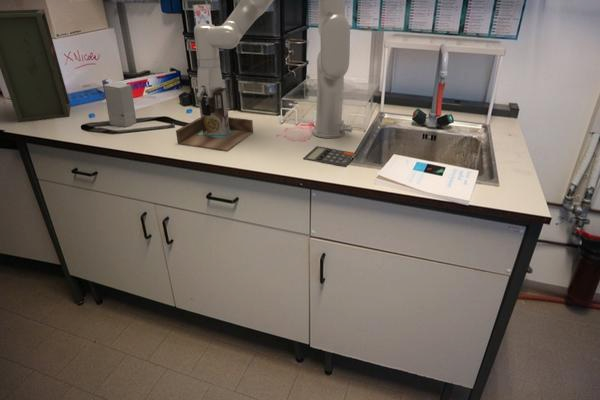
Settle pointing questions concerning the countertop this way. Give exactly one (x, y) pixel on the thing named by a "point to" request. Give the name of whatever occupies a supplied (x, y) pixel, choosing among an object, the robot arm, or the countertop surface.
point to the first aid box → (31, 66)
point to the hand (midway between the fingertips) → (213, 111)
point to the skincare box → (120, 104)
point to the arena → (195, 137)
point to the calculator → (330, 156)
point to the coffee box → (216, 115)
